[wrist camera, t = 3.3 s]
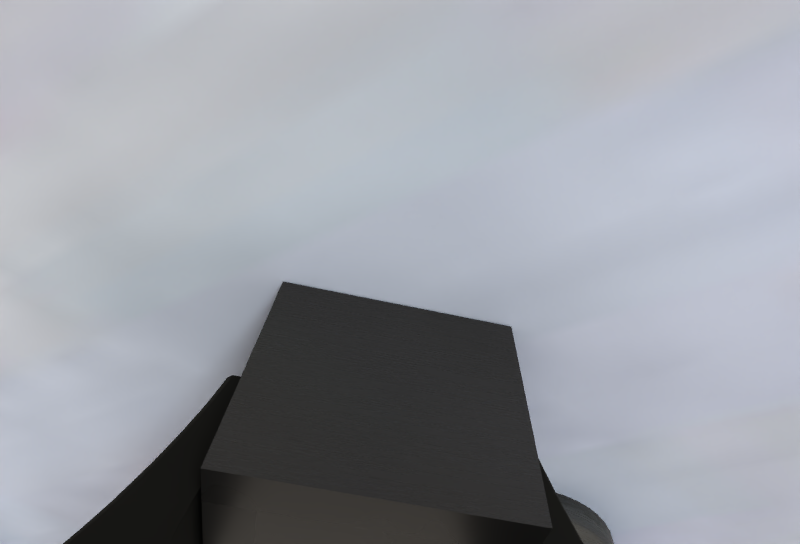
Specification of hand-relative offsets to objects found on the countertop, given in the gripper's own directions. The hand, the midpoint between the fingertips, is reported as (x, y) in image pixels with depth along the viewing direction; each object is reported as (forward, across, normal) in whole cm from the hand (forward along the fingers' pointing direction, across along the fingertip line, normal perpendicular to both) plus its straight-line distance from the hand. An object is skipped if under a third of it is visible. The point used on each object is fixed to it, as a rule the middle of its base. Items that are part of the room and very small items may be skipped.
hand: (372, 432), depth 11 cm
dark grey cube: (+1, 0, 0) cm, 1 cm away
